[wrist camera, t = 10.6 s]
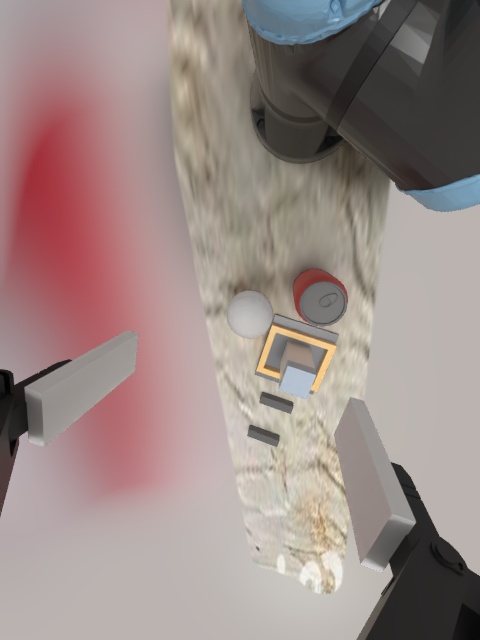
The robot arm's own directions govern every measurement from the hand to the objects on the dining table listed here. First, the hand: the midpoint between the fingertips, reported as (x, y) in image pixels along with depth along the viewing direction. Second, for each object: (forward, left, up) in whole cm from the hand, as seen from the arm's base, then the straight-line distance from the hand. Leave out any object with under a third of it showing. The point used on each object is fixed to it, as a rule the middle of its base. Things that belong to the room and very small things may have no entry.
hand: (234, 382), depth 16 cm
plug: (+9, +8, -29) cm, 32 cm away
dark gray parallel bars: (+23, +8, -30) cm, 38 cm away
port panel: (+9, +8, -30) cm, 32 cm away
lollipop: (+1, -1, -30) cm, 30 cm away
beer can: (-3, +7, -30) cm, 31 cm away
